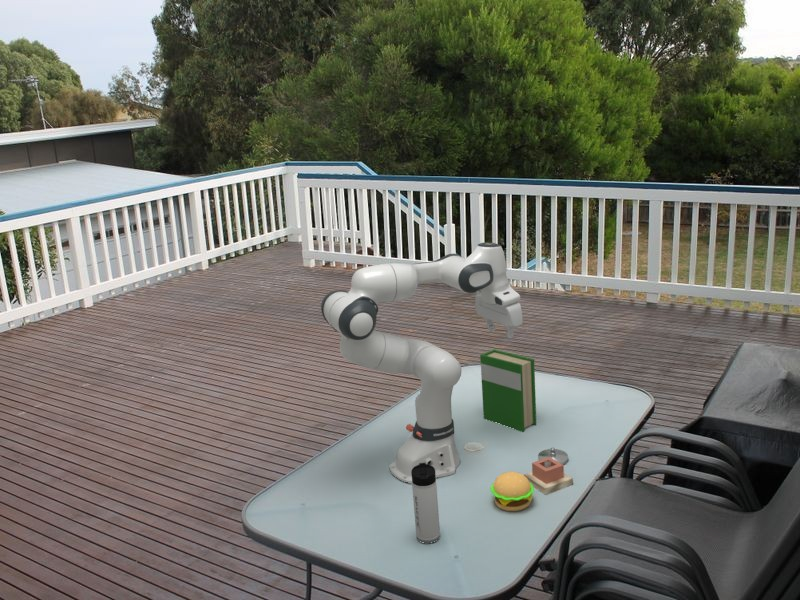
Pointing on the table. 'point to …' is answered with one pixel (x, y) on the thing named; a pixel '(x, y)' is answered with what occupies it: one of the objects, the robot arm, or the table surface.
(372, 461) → the table surface
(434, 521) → the travel mug
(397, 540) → the table surface
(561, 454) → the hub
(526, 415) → the hardback book
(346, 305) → the robot arm
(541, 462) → the brown square ring block
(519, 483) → the hamburger
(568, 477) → the stand
